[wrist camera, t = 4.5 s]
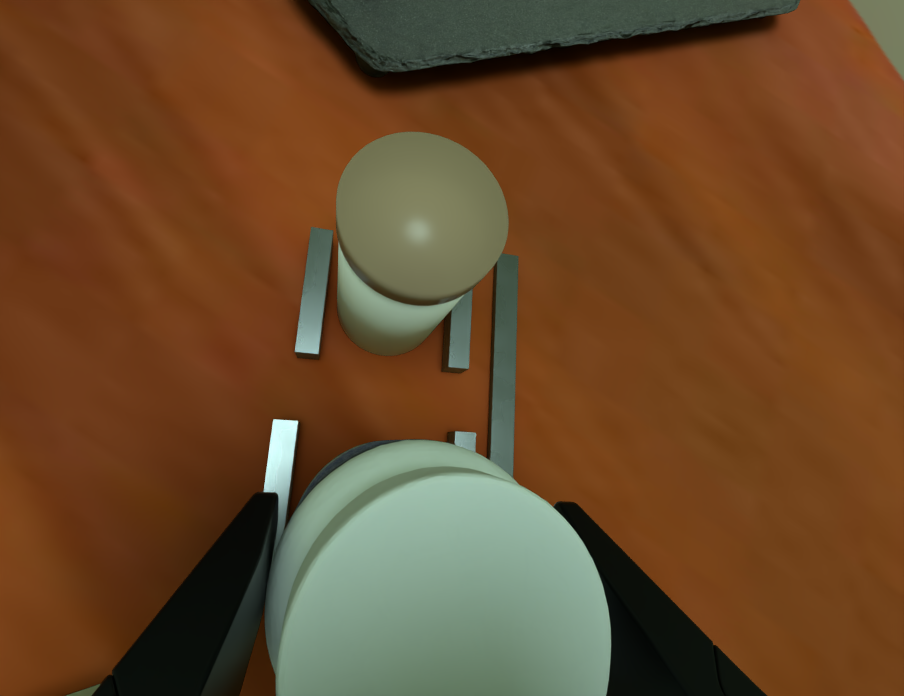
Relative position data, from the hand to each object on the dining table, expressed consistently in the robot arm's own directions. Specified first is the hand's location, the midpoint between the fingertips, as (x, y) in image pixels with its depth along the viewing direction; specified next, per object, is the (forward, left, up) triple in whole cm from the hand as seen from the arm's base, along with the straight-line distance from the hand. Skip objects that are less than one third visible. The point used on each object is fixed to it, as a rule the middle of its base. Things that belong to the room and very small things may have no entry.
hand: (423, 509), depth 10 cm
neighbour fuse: (+8, -2, -13) cm, 15 cm away
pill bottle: (-1, 0, -7) cm, 7 cm away
